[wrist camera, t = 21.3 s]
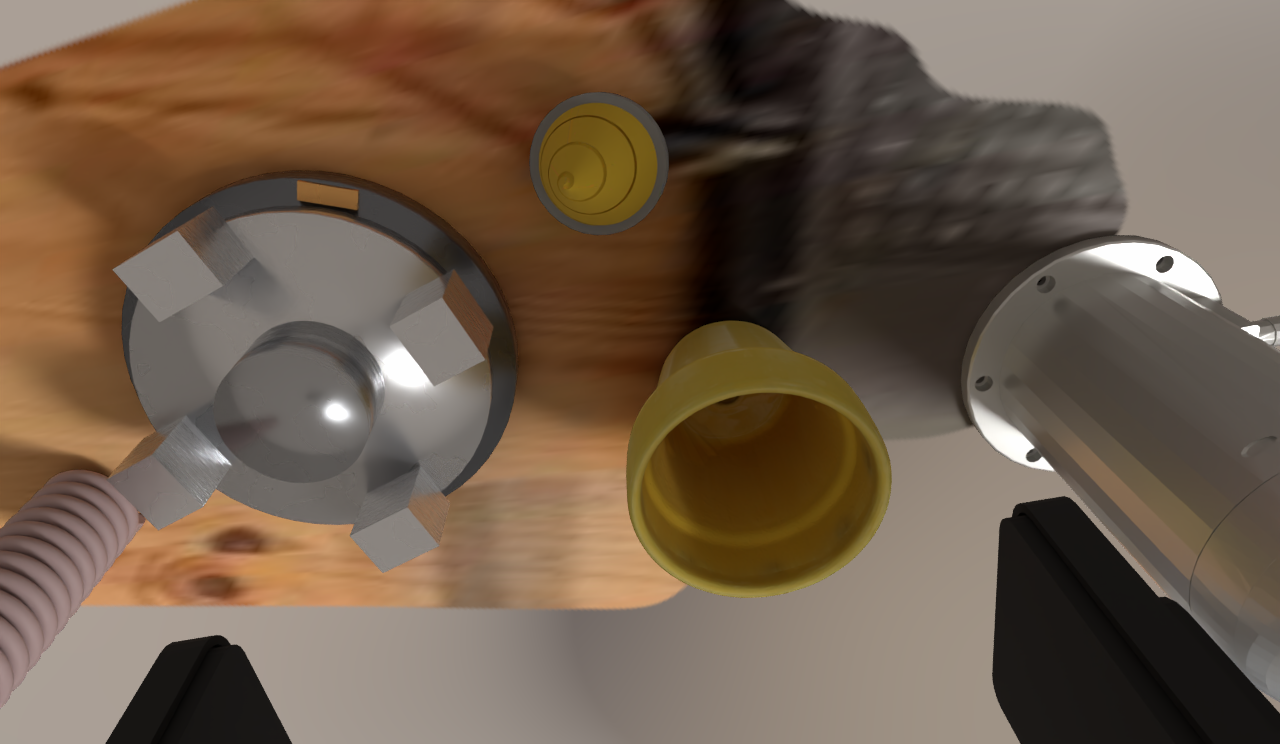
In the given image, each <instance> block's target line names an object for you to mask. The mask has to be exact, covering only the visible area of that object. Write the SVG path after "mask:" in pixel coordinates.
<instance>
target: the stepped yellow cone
mask: <svg viewBox="0 0 1280 744" xmlns="http://www.w3.org/2000/svg"><path fill="white" fill-rule="evenodd" d="M529 164H530V174H531V179H532V182H533V185H534V189H535V191H536V193H537V195H538V197H539V199H540V201H541V202H542V204H543V205H544V206H545V208H546V209H547V210H548V212H549V213H550V214H551V215H553V216H554V217H555V218H556V219H557V220H558V221H559V222H561V223H563V224H564V225H566V226H567V227H569V228H571V229H574V230H576V231H579V232H582V233H586V234H592V235H610V234H614V233H618V232H622V231H624V230H626V229H628V228H630V227H633V226H634V225H636V224H637V223H638V222H640V221H641V220H642V219H644V218H645V217H646V216H647V215H648V214H649V212H650V211H651V210H652V209H653V208H654V206H655V205H656V203H657V201H658V200H659V198H660V196H661V195H662V193H663V190H664V187H665V184H666V182H667V177H668V170H669V158H668V150H667V146H666V142H665V138H664V136H663V134H662V132H661V130H660V128H659V126H658V124H657V123H656V122H655V120H654V119H653V118H652V116H651V115H650V114H649V113H648V112H647V111H646V110H645V109H644V108H643V107H641V106H640V105H639V104H637V103H635V102H634V101H632V100H631V99H629V98H626V97H623V96H621V95H618V94H613V93H607V92H594V93H585V94H581V95H578V96H574V97H571V98H569V99H567V100H565V101H564V102H562V103H560V104H559V105H557V106H556V107H555V108H554V109H552V110H551V111H550V112H549V113H548V114H547V116H546V117H545V118H544V119H543V121H542V122H541V123H540V125H539V127H538V129H537V131H536V133H535V135H534V138H533V142H532V145H531V149H530V161H529Z"/></svg>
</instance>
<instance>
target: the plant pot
mask: <svg viewBox="0 0 1280 744" xmlns="http://www.w3.org/2000/svg"><path fill="white" fill-rule="evenodd" d="M626 480H627V501H628V509H629V515H630V519H631V522H632V525H633V528H634V531H635V533H636V535H637V537H638V539H639V541H640V542H641V544H642V546H643V547H644V549H645V550H646V551H647V553H648V554H649V555H650V556H651V558H652V559H653V560H654V561H655V562H656V563H657V564H658V565H659V566H660V567H661V568H663V569H664V570H665V571H666V572H668V573H669V574H670V575H672V576H673V577H675V578H677V579H678V580H680V581H682V582H684V583H686V584H688V585H690V586H692V587H695V588H697V589H700V590H703V591H707V592H710V593H714V594H718V595H722V596H730V597H740V598H750V597H751V598H752V597H767V596H774V595H780V594H785V593H788V592H792V591H795V590H799V589H802V588H805V587H807V586H810V585H812V584H815V583H817V582H819V581H821V580H823V579H825V578H827V577H828V576H830V575H832V574H833V573H835V572H836V571H838V570H839V569H841V568H842V567H844V566H845V565H846V564H848V563H849V562H850V561H851V560H852V559H854V558H855V557H856V556H857V555H858V554H859V553H860V552H861V551H862V549H863V548H864V547H865V546H866V545H867V544H868V543H869V541H870V540H871V539H872V537H873V536H874V534H875V533H876V531H877V529H878V528H879V526H880V524H881V522H882V520H883V517H884V515H885V512H886V510H887V506H888V503H889V498H890V493H891V483H892V478H891V465H890V459H889V455H888V452H887V449H886V446H885V444H884V441H883V439H882V437H881V435H880V433H879V431H878V429H877V427H876V425H875V423H874V422H873V420H872V418H871V416H870V415H869V413H868V411H867V410H866V408H865V406H864V405H863V403H862V402H861V400H860V399H859V398H858V396H857V395H856V394H855V392H854V391H853V390H852V388H851V387H850V386H849V385H848V384H847V382H846V381H844V380H843V379H842V378H841V377H840V376H839V375H838V374H837V373H836V372H834V371H833V370H832V369H830V368H829V367H827V366H826V365H824V364H822V363H820V362H819V361H817V360H815V359H813V358H811V357H808V356H805V355H803V354H800V353H797V352H794V351H793V350H792V349H790V348H789V347H788V346H787V345H786V344H785V343H784V342H783V341H782V340H780V339H779V338H778V337H777V336H776V335H775V334H773V333H772V332H770V331H769V330H767V329H765V328H763V327H761V326H759V325H756V324H753V323H749V322H744V321H721V322H715V323H711V324H707V325H704V326H702V327H700V328H698V329H696V330H694V331H692V332H691V333H689V334H688V335H686V336H685V337H684V338H683V339H681V340H680V341H679V342H678V344H677V345H676V346H675V347H674V348H673V349H672V351H671V352H670V354H669V355H668V357H667V358H666V360H665V362H664V365H663V368H662V371H661V374H660V377H659V381H658V384H657V388H656V390H655V391H654V392H653V393H652V394H651V396H650V397H649V398H648V399H647V401H646V402H645V404H644V405H643V407H642V408H641V410H640V412H639V414H638V416H637V418H636V420H635V423H634V425H633V428H632V431H631V435H630V439H629V444H628V452H627V470H626Z"/></svg>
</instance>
